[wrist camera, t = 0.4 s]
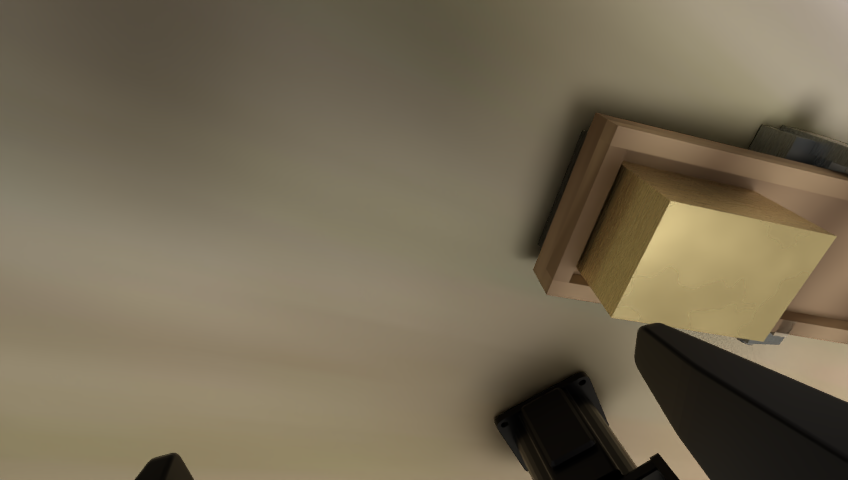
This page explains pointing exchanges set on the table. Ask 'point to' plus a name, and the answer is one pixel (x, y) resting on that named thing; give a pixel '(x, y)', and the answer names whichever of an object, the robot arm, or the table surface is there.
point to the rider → (697, 254)
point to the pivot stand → (766, 141)
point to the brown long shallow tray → (671, 151)
